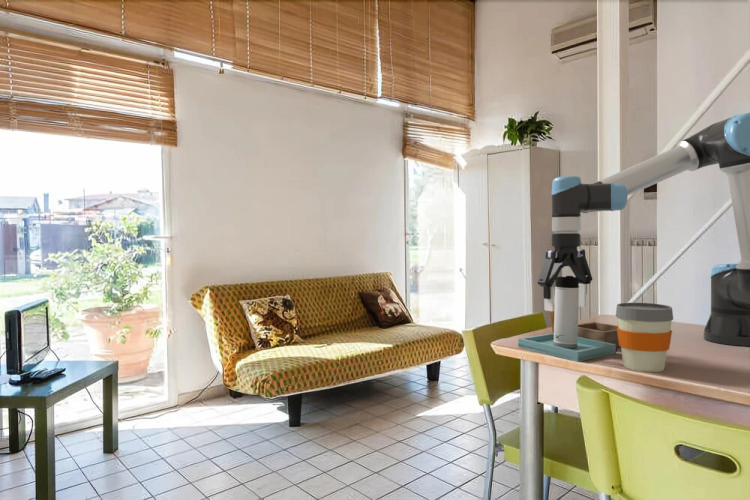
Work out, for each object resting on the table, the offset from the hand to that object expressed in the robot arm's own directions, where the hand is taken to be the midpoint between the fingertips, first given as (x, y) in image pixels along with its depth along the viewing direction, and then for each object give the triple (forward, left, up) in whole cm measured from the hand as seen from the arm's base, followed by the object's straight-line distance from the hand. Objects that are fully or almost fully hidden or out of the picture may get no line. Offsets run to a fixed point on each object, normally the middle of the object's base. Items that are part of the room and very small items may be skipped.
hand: (565, 308), depth 145 cm
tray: (0, 0, -12) cm, 12 cm away
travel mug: (0, 0, -11) cm, 11 cm away
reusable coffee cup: (-22, -1, -12) cm, 25 cm away
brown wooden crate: (0, -15, -12) cm, 19 cm away
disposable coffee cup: (+16, -19, -12) cm, 28 cm away
